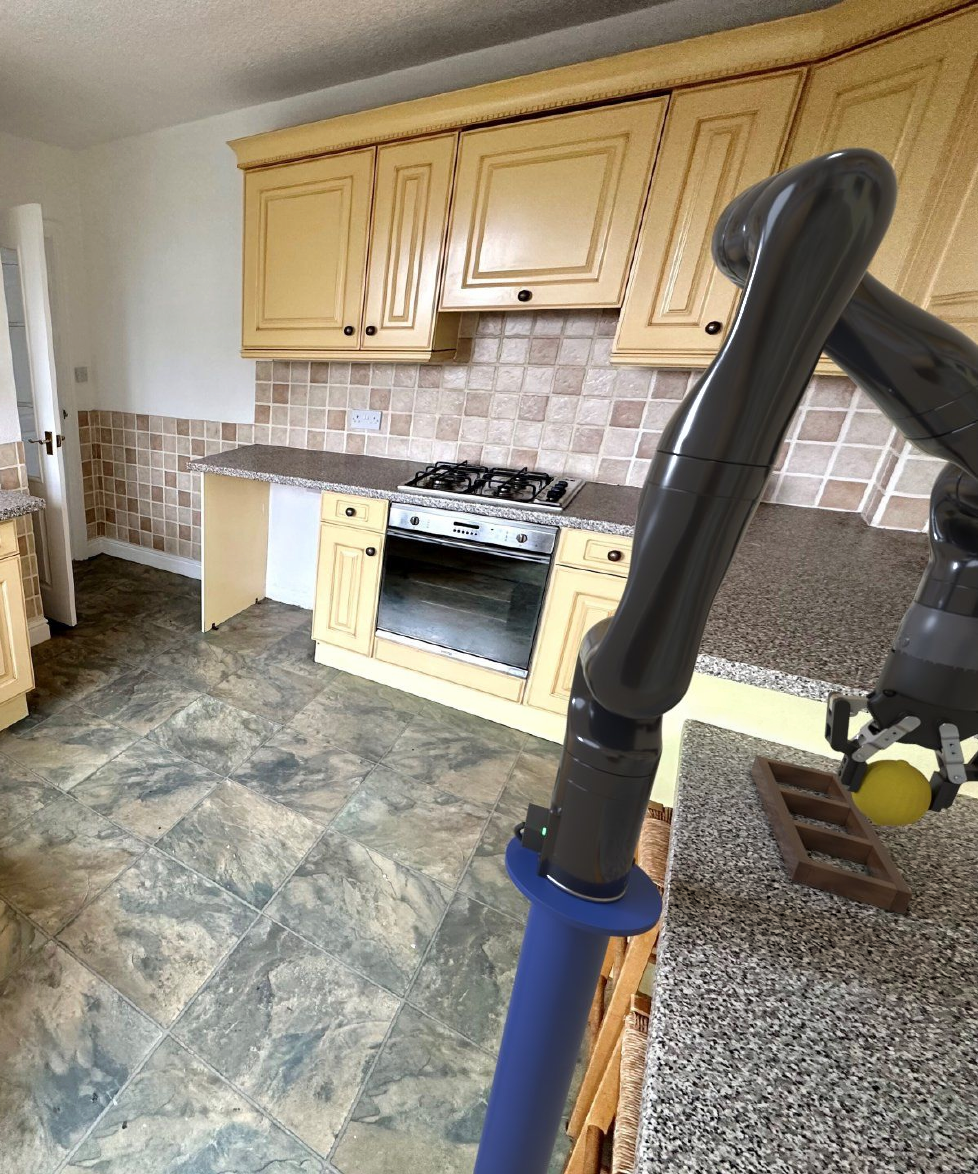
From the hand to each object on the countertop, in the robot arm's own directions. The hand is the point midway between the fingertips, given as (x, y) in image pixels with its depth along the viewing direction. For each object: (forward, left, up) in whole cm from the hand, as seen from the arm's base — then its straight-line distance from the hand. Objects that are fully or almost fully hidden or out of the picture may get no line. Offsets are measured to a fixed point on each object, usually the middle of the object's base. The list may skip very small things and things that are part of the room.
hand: (888, 796), depth 67 cm
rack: (+2, +19, -17) cm, 26 cm away
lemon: (0, 0, -4) cm, 4 cm away
